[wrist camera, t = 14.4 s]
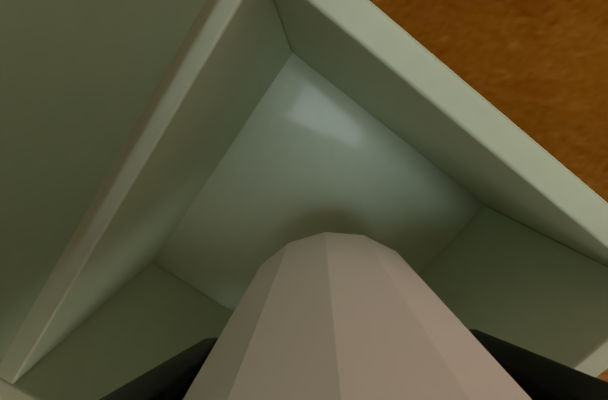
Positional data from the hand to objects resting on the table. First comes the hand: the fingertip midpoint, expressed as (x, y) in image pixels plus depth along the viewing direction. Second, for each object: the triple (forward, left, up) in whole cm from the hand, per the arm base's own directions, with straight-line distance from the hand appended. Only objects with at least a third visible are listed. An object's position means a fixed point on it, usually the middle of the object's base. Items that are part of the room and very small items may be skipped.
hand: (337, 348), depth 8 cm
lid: (-7, -1, +7) cm, 10 cm away
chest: (-1, 0, -8) cm, 8 cm away
